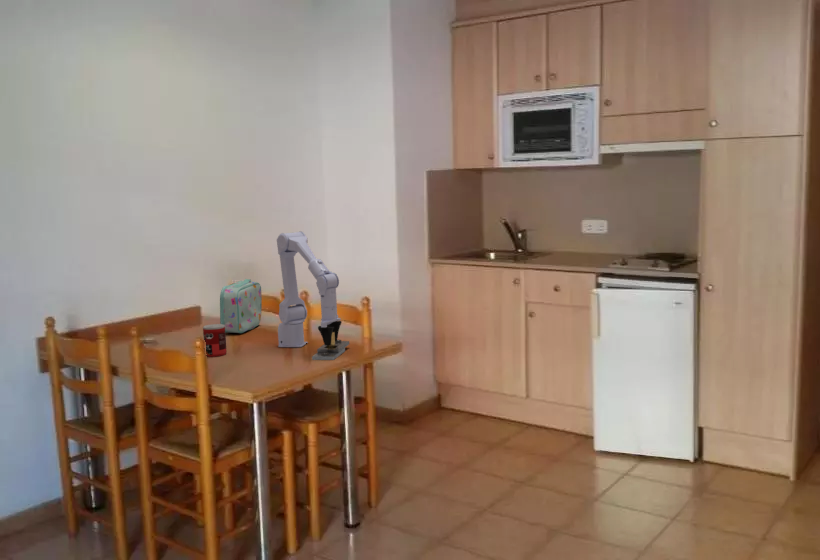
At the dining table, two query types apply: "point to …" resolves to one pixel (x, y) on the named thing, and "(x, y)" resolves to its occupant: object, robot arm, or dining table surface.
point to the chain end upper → (338, 347)
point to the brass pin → (332, 341)
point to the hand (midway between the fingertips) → (330, 343)
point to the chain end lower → (326, 355)
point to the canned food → (215, 340)
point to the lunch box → (240, 306)
